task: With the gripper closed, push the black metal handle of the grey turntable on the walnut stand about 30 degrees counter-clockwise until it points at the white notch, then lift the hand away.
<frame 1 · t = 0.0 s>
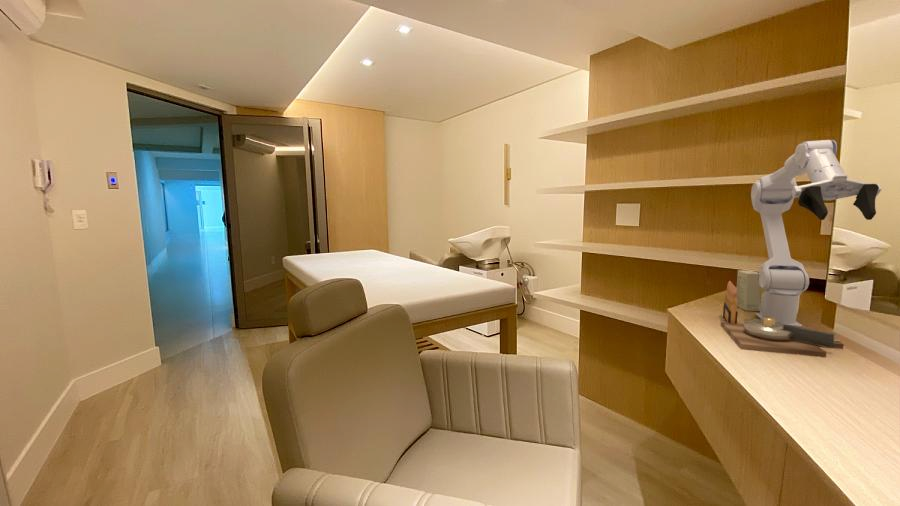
hand: (847, 216, 81), 32 cm above the worktop, tool tilted 50°, fingers open, 7 cm apart
syrup box: (784, 310, 121), on the worktop
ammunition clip: (729, 324, 112), on the worktop, touching walnut stand
skincare box: (747, 309, 124), on the worktop
walnut stand: (767, 339, 98), on the worktop
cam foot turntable: (786, 329, 95), point 4 cm above the worktop, hinge at -30.0°
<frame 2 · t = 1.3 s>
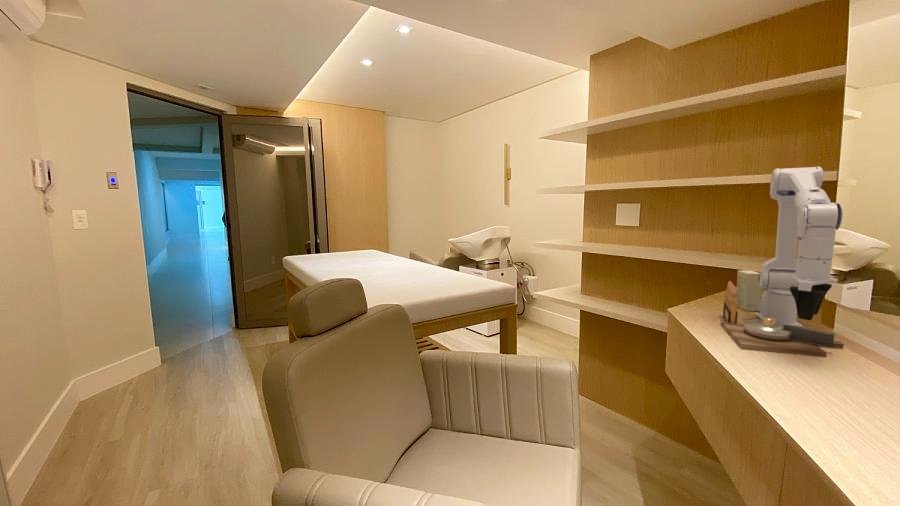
hand: (807, 316, 87), 9 cm above the worktop, tool pointing down, fingers open, 5 cm apart
nothing on the worktop moved.
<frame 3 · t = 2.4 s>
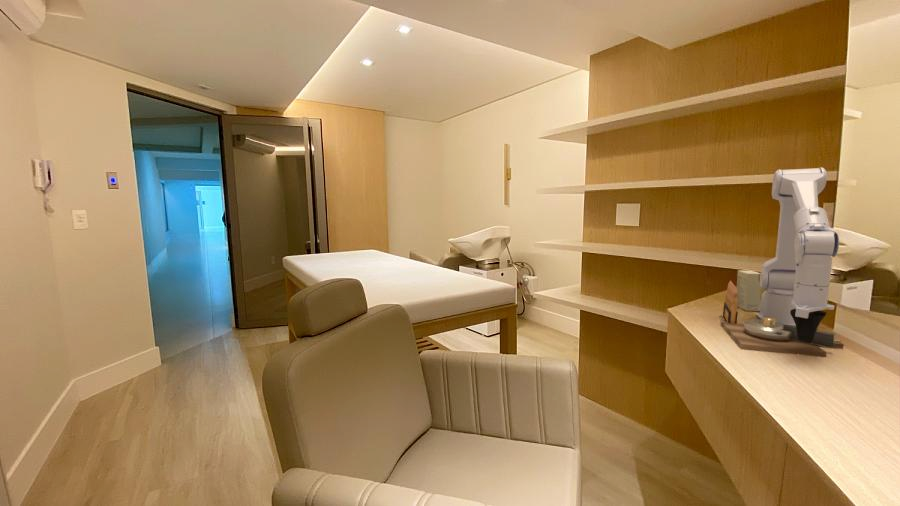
hand: (805, 341, 88), 3 cm above the worktop, tool pointing down, fingers closed
nothing on the worktop moved.
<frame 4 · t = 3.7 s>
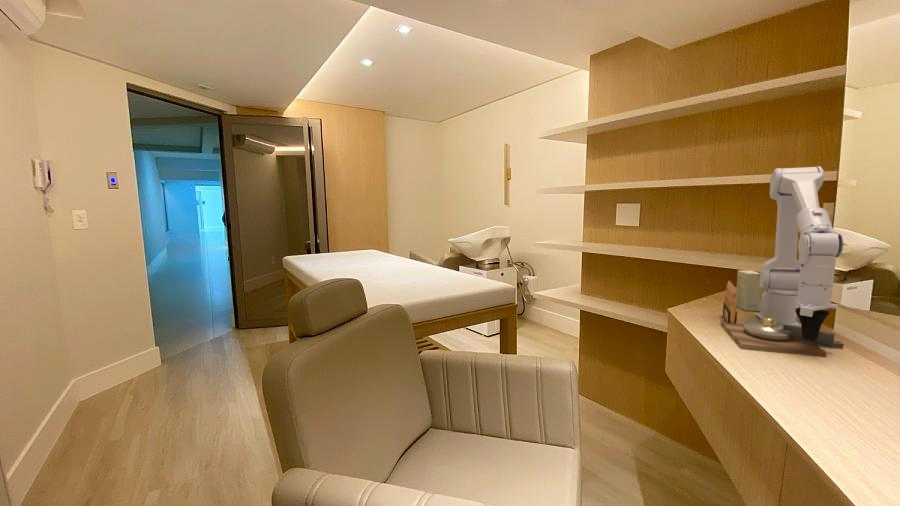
hand: (809, 339, 91), 3 cm above the worktop, tool pointing down, fingers closed, pressing on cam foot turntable
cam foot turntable: (786, 329, 95), point 4 cm above the worktop, hinge at -29.6°, touching gripper
everything else where it was.
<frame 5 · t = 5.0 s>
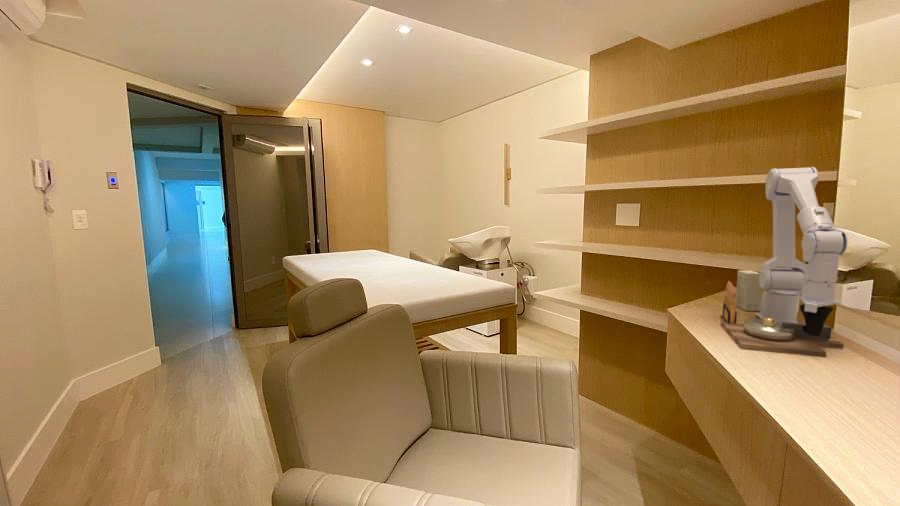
hand: (813, 335, 93), 3 cm above the worktop, tool pointing down, fingers closed, pressing on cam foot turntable
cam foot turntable: (785, 327, 97), point 4 cm above the worktop, hinge at 0.3°, touching gripper
everything else where it was.
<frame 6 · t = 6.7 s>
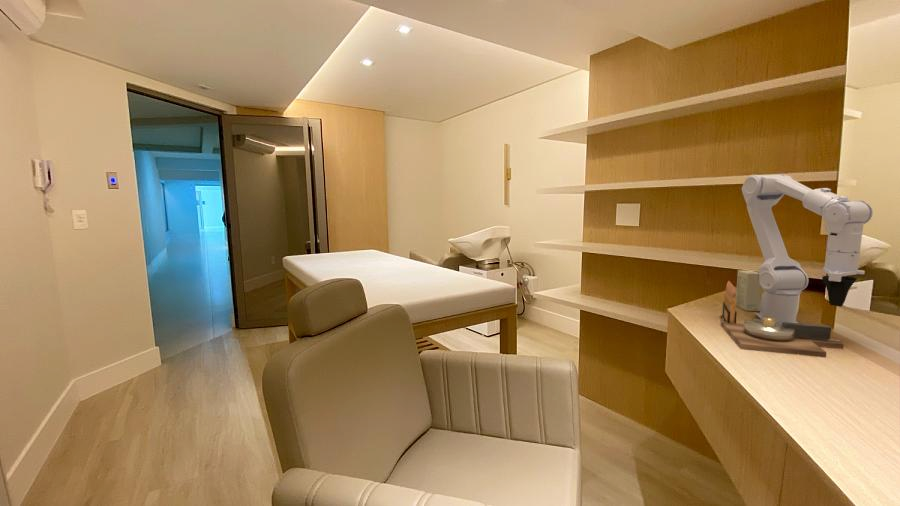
hand: (836, 305, 94), 9 cm above the worktop, tool pointing down, fingers closed
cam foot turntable: (785, 327, 97), point 4 cm above the worktop, hinge at 0.6°
everything else where it was.
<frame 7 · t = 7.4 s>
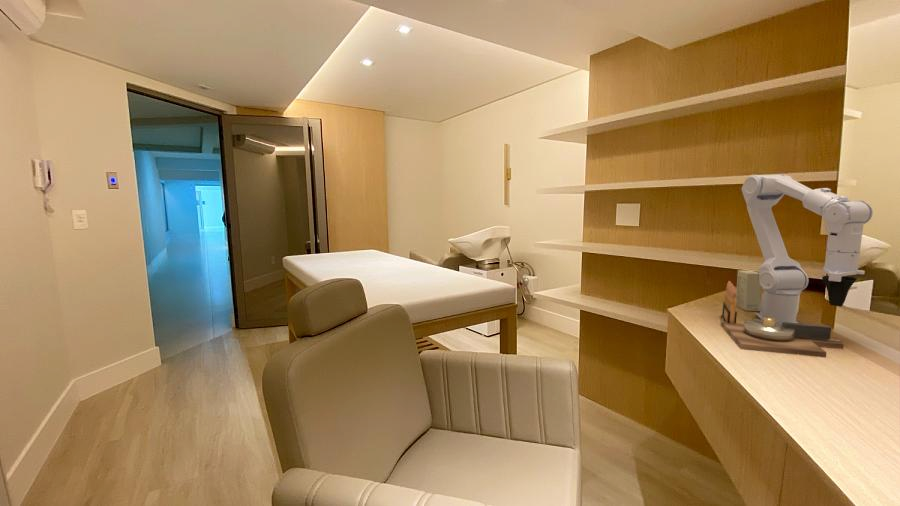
hand: (836, 305, 94), 9 cm above the worktop, tool pointing down, fingers closed
nothing on the worktop moved.
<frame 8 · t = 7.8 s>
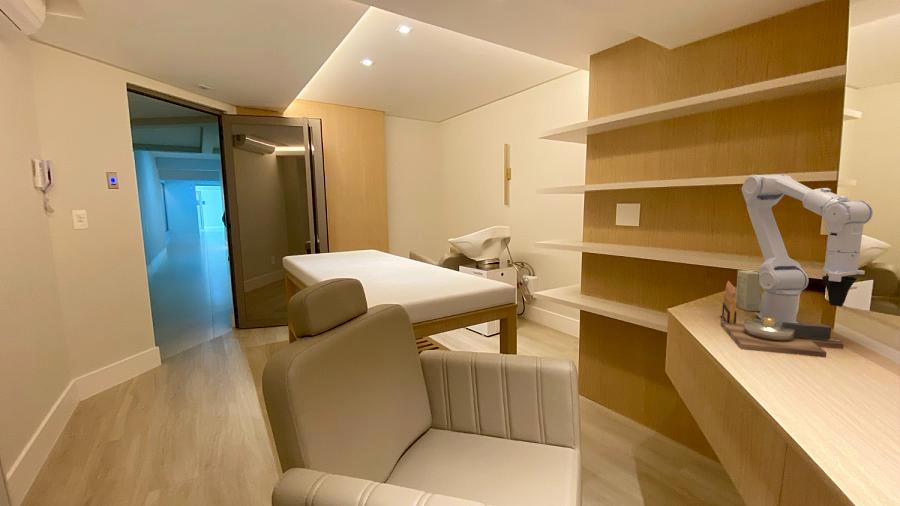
hand: (836, 305, 94), 9 cm above the worktop, tool pointing down, fingers closed
nothing on the worktop moved.
at the end: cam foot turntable at +1° (first picture: -30°) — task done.
